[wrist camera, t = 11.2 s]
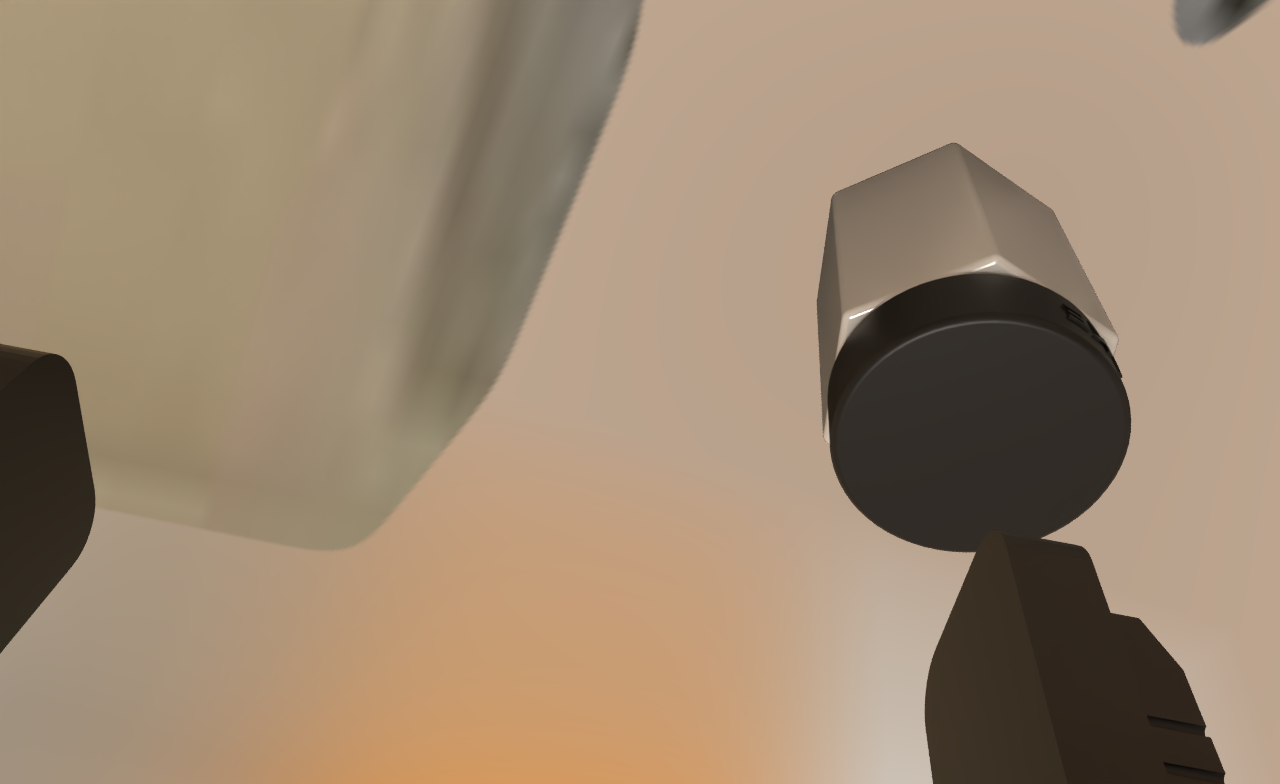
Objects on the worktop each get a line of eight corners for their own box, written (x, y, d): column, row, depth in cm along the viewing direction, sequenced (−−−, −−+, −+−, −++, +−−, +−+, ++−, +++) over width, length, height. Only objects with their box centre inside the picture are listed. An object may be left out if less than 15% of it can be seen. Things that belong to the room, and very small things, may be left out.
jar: (1016, 370, 42) (1087, 580, 32) (806, 351, 43) (811, 551, 33) (1075, 149, 37) (1180, 315, 27) (836, 131, 38) (854, 287, 28)
